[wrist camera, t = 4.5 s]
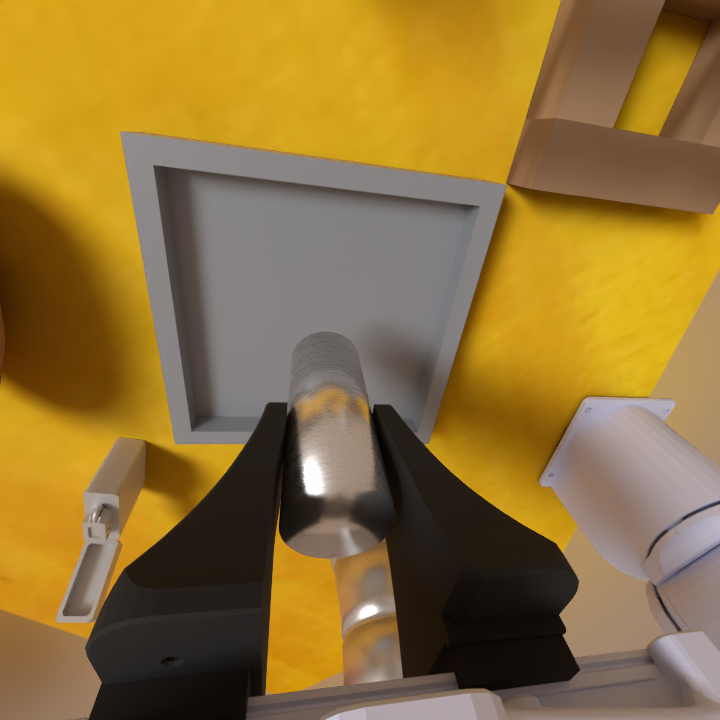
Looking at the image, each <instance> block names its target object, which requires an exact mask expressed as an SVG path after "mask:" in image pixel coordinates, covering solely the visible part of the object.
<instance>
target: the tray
mask: <svg viewBox="0 0 720 720" xmlns="http://www.w3.org/2000/svg"><path fill="white" fill-rule="evenodd" d="M120 134H121V139H122V145H123V151H124V156H125V162H126V168H127V173H128V179H129V185H130V190H131V196H132V202H133V207H134V213H135V218H136V224H137V230H138V235H139V241H140V247H141V252H142V258H143V264H144V269H145V275H146V281H147V286H148V292H149V298H150V303H151V309H152V315H153V320H154V326H155V332H156V337H157V343H158V349H159V354H160V360H161V366H162V371H163V377H164V383H165V388H166V394H167V400H168V405H169V411H170V417H171V422H172V428H173V434H174V439H175V444H246V443H247V442H248V440H249V438H250V437H251V435H252V433H253V432H254V430H255V428H256V426H257V424H258V422H259V420H260V418H261V416H262V414H263V412H264V409H265V406H266V404H268V403H269V402H288V394H289V380H290V367H291V356H292V352H293V350H294V348H295V347H296V345H297V344H298V343H299V342H300V341H301V340H302V339H304V338H305V337H307V336H308V335H311V334H313V333H317V332H334V333H338V334H341V335H343V336H345V337H346V338H348V339H349V340H350V341H351V342H352V343H353V344H354V346H355V347H356V349H357V351H358V355H359V359H360V364H361V368H362V372H363V376H364V381H365V385H366V389H367V394H368V398H369V402H370V406H371V411H372V413H373V408H374V404H389V405H391V406H392V407H393V408H394V409H395V410H396V412H397V413H398V414H399V415H400V417H401V418H402V419H403V420H404V422H405V423H406V424H407V425H408V427H409V428H410V429H411V430H412V431H413V433H414V434H415V435H416V436H417V437H418V438H419V440H420V441H421V442H422V443H423V444H429V441H430V437H431V434H432V431H433V428H434V424H435V421H436V418H437V414H438V411H439V408H440V404H441V401H442V398H443V395H444V391H445V388H446V385H447V381H448V378H449V375H450V372H451V368H452V365H453V362H454V358H455V355H456V352H457V349H458V345H459V342H460V339H461V335H462V332H463V329H464V325H465V322H466V319H467V316H468V312H469V309H470V306H471V302H472V299H473V296H474V293H475V289H476V286H477V283H478V279H479V276H480V273H481V269H482V266H483V263H484V260H485V256H486V253H487V250H488V246H489V243H490V240H491V237H492V233H493V230H494V227H495V223H496V220H497V217H498V213H499V210H500V207H501V204H502V200H503V197H504V194H505V190H506V187H507V185H504V184H500V183H495V182H491V181H487V180H480V179H473V178H465V177H458V176H451V175H444V174H437V173H430V172H423V171H415V170H408V169H401V168H394V167H387V166H380V165H373V164H365V163H358V162H351V161H344V160H337V159H330V158H323V157H315V156H308V155H301V154H294V153H287V152H280V151H273V150H266V149H258V148H251V147H244V146H237V145H230V144H223V143H216V142H208V141H201V140H194V139H187V138H180V137H173V136H166V135H158V134H151V133H144V132H120ZM287 408H288V404H287Z"/></svg>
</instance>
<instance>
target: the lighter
mask: <svg viewBox="0 0 720 720" xmlns="http://www.w3.org/2000/svg"><path fill="white" fill-rule="evenodd" d="M145 470H146V442H145V441H144V440H138V439H129V438H121V437H120V438H118V439H117V440H116V441H115V443H114V445H113V446H112V448H111V449H110V451H109V453H108V454H107V456H106V458H105V459H104V461H103V463H102V464H101V466H100V467H99V469H98V471H97V472H96V474H95V476H94V477H93V479H92V481H91V482H90V484H89V485H88V487H87V489H86V490H85V492H84V494H83V497H84V509H85V519H84V521H83V523H82V524H83V535H84V541H85V544H84V547H83V549H82V552H81V554H80V557H79V560H78V562H77V565H76V567H75V570H74V573H73V575H72V578H71V580H70V583H69V585H68V588H67V591H66V593H65V596H64V598H63V601H62V604H61V606H60V609H59V611H58V614H57V616H56V620H57V622H58V623H88V622H94V621H95V620H96V619H97V617H98V615H99V613H100V610H101V608H102V605H103V602H104V599H105V596H106V593H107V590H108V587H109V584H110V581H111V578H112V575H113V572H114V569H115V566H116V563H117V560H118V557H119V554H120V551H121V548H122V543H121V542H120V541H118V540H117V539H118V538H120V535H121V533H122V531H123V529H124V527H125V524H126V522H127V520H128V518H129V516H130V513H131V511H132V509H133V507H134V505H135V502H136V500H137V498H138V496H139V494H140V491H141V489H142V487H143V485H144V483H145Z"/></svg>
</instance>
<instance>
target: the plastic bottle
mask: <svg viewBox="0 0 720 720" xmlns="http://www.w3.org/2000/svg"><path fill="white" fill-rule="evenodd" d="M330 560H331V563H332V567H333V570H334V573H335V580H336V586H337V593H338V600H339V606H340V613H341V621H342V638H343V647H342V649H343V675H344V680H343V686H345V685H354V684H362V683H370V682H378V681H386V680H394V679H403V675H402V665H401V655H400V645H399V635H398V627H397V618H396V609H395V601H394V593H393V586H392V579H391V571H390V564H389V558H388V551H387V544H386V539H384V540H383V541H381V542H380V543H379V544H377V545H376V546H374V547H372V548H371V549H369V550H366V551H364V552H362V553H359V554H356V555H352V556H348V557H342V558H330Z"/></svg>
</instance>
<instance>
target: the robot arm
mask: <svg viewBox="0 0 720 720" xmlns="http://www.w3.org/2000/svg"><path fill="white" fill-rule="evenodd" d="M287 404H288V402H269V403H268V404H266V406H265V409H264V412H263V414H262V416H261V418H260V420H259V422H258V424H257V426H256V428H255V430H254V432H253V433H252V435H251V437H250V438H249V440H248V442H247V443H246V445H245V446H244V448H243V449H242V451H241V452H240V454H239V455H238V457H237V458H236V459H235V461H234V462H233V464H232V465H231V466H230V468H229V469H228V470H227V472H226V473H225V474H224V475H223V477H222V478H221V479H220V480H219V481H218V483H217V484H216V485H215V486H214V487H213V489H212V490H211V491H210V492H209V493H208V494H207V495H206V496H205V497H204V498H203V499H202V501H201V502H200V503H199V504H198V505H197V506H196V507H195V508H194V509H193V510H192V511H191V512H190V513H189V514H188V515H187V516H186V517H185V518H184V519H182V520H181V521H180V522H179V523H178V524H177V525H176V526H175V527H174V528H173V529H172V530H171V531H169V532H168V533H167V534H166V535H165V536H164V537H163V538H162V539H161V540H159V541H158V542H157V543H156V544H155V545H153V546H152V547H151V548H150V549H148V550H147V551H146V552H145V553H143V554H142V555H141V556H140V557H138V558H137V559H136V560H135V561H133V562H132V563H131V564H130V565H128V566H127V567H126V568H125V569H124V570H123V571H122V573H121V575H120V576H119V578H118V579H117V581H116V583H115V584H114V586H113V588H112V590H111V591H110V593H109V595H108V597H107V599H106V600H105V602H104V604H103V606H102V608H101V610H100V613H99V615H98V617H97V620H96V622H95V625H94V627H93V630H92V632H91V635H90V637H89V640H88V642H87V644H86V647H85V649H86V654H87V657H88V659H89V660H90V662H91V664H92V666H93V667H94V669H95V671H96V672H97V674H98V676H99V678H100V680H101V682H102V684H101V687H100V689H99V692H98V695H97V698H96V701H95V703H94V706H93V709H92V711H91V714H90V717H85V718H77V719H68V720H720V466H718V465H717V464H716V463H715V462H713V461H712V460H711V459H709V458H708V457H707V456H706V455H704V454H703V453H702V452H701V451H699V450H698V449H697V448H696V447H694V446H693V445H692V444H691V443H689V442H688V441H687V440H686V439H684V438H683V437H682V436H680V435H679V434H678V433H677V432H675V431H674V430H673V429H672V428H670V427H669V426H668V425H667V424H665V423H664V421H665V419H666V418H667V416H668V415H669V413H670V412H671V411H672V410H673V408H674V407H675V405H676V403H675V401H673V400H672V399H668V398H628V397H587V398H585V399H584V400H583V401H582V403H581V405H580V407H579V408H578V410H577V412H576V414H575V416H574V418H573V419H572V421H571V423H570V425H569V427H568V428H567V430H566V432H565V434H564V436H563V438H562V439H561V441H560V443H559V445H558V447H557V448H556V450H555V452H554V454H553V456H552V457H551V459H550V461H549V463H548V465H547V467H546V468H545V470H544V472H543V474H542V476H541V477H540V479H539V483H540V485H541V486H543V487H551V488H552V490H553V491H554V492H555V494H556V495H557V497H558V498H559V499H560V501H561V502H562V504H563V505H564V507H565V508H566V509H567V511H568V512H569V514H570V515H571V516H572V518H573V519H574V521H575V522H576V524H577V525H578V526H579V528H580V529H581V531H582V532H583V533H584V535H585V536H586V538H587V539H588V540H589V542H590V543H591V545H592V546H593V547H594V548H595V550H596V551H597V552H598V553H599V554H600V555H601V556H602V557H603V558H604V559H605V560H606V561H608V562H609V563H610V564H611V565H613V566H614V567H616V568H617V569H618V570H620V571H622V572H623V573H625V574H627V575H629V576H632V577H634V578H637V579H641V580H645V581H649V582H648V583H647V584H646V595H647V599H648V603H649V607H650V610H651V612H652V615H653V617H654V619H655V620H656V622H657V624H658V626H659V627H660V629H661V631H662V632H663V635H661V636H658V637H657V638H655V639H654V640H653V641H651V642H650V643H649V644H648V645H647V648H646V649H639V650H631V651H623V652H614V653H607V654H598V655H590V656H582V657H573V655H572V653H571V651H570V649H569V647H568V645H567V643H566V641H565V639H564V637H563V635H562V634H565V633H566V627H565V626H564V624H563V622H562V620H561V618H560V616H559V614H560V613H561V611H562V610H563V609H564V608H565V607H566V606H567V604H568V603H569V602H570V601H571V599H572V598H573V597H574V595H575V594H576V592H577V589H578V584H579V580H578V578H577V576H576V574H575V573H574V571H573V569H572V568H571V566H570V565H569V563H568V561H567V559H566V558H565V556H564V555H563V553H562V552H561V550H560V549H559V547H558V546H557V544H556V543H554V542H552V541H551V540H549V539H547V538H545V537H544V536H542V535H540V534H538V533H536V532H535V531H533V530H531V529H529V528H528V527H526V526H524V525H522V524H521V523H519V522H517V521H516V520H514V519H513V518H511V517H510V516H508V515H507V514H505V513H503V512H502V511H500V510H499V509H498V508H496V507H495V506H493V505H492V504H490V503H489V502H488V501H486V500H485V499H484V498H482V497H481V496H480V495H478V494H477V493H476V492H474V491H473V490H472V489H470V488H469V487H468V486H467V485H465V484H464V483H463V482H462V481H461V480H460V479H458V478H457V477H456V476H455V475H454V474H453V473H452V472H450V471H449V470H448V469H447V468H446V467H445V466H444V465H443V464H442V463H441V462H440V461H439V460H438V459H437V458H436V457H435V456H434V455H433V454H432V453H431V452H430V451H429V450H428V449H427V448H426V446H425V445H424V444H423V443H422V442H421V441H420V440H419V438H418V437H417V436H416V435H415V434H414V433H413V431H412V430H411V429H410V428H409V427H408V425H407V424H406V423H405V422H404V420H403V419H402V418H401V417H400V415H399V414H398V413H397V412H396V410H395V409H394V408H393V407H392V406H391V405H389V404H374V408H373V413H372V415H373V419H374V423H375V428H376V432H377V436H378V441H379V445H380V449H381V453H382V458H383V462H384V466H385V471H386V475H387V479H388V483H389V488H390V492H391V496H392V500H393V505H394V509H395V515H396V519H395V524H394V527H393V528H392V530H391V532H390V533H389V534H388V536H387V537H386V538H385V539H386V544H387V551H388V558H389V564H390V571H391V579H392V586H393V593H394V601H395V609H396V618H397V627H398V635H399V645H400V655H401V665H402V675H403V679H394V680H386V681H378V682H370V683H362V684H354V685H345V686H337V687H329V688H321V689H313V690H305V691H297V692H288V693H280V694H272V695H265V689H266V672H267V654H268V637H269V620H270V603H271V587H272V571H273V555H274V543H275V534H276V527H277V521H278V514H279V508H280V501H281V490H282V477H283V463H284V449H285V439H286V427H287Z"/></svg>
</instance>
